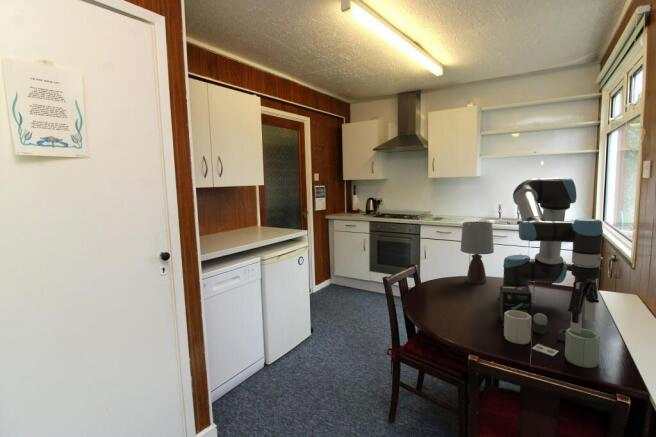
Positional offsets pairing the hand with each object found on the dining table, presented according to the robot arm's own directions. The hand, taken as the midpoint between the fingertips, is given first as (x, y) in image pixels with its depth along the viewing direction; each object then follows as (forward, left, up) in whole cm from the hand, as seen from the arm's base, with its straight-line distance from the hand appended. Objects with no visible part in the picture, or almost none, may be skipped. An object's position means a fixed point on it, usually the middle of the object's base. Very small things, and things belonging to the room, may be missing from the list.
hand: (582, 325), depth 111 cm
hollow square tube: (-9, +14, -13) cm, 21 cm away
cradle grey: (-18, +14, -13) cm, 26 cm away
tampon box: (-30, +17, -13) cm, 36 cm away
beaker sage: (0, 0, -13) cm, 13 cm away
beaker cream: (-21, 0, -13) cm, 25 cm away
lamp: (-70, +57, -13) cm, 92 cm away
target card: (-10, -2, -13) cm, 17 cm away
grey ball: (-18, +14, -10) cm, 25 cm away
